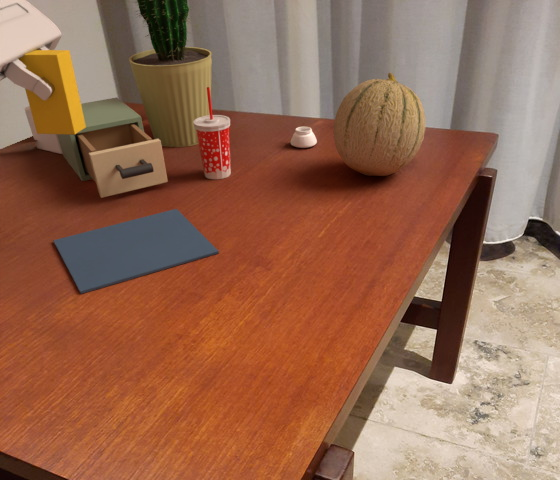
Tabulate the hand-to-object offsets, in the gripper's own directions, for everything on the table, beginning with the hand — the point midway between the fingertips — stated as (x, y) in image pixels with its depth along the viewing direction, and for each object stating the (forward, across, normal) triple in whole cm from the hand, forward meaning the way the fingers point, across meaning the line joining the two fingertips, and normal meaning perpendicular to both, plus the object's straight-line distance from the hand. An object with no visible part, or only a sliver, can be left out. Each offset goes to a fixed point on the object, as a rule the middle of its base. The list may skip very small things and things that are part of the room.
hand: (59, 89), depth 69 cm
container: (-1, -36, -28) cm, 46 cm away
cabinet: (+7, -28, -20) cm, 35 cm away
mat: (+19, +5, -9) cm, 21 cm away
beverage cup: (+24, -22, -4) cm, 33 cm away
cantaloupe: (+43, -23, +15) cm, 51 cm away
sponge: (+3, 0, -4) cm, 5 cm away
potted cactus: (+15, -41, -12) cm, 46 cm away
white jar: (+33, -37, +6) cm, 50 cm away
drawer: (+12, -17, -14) cm, 25 cm away
